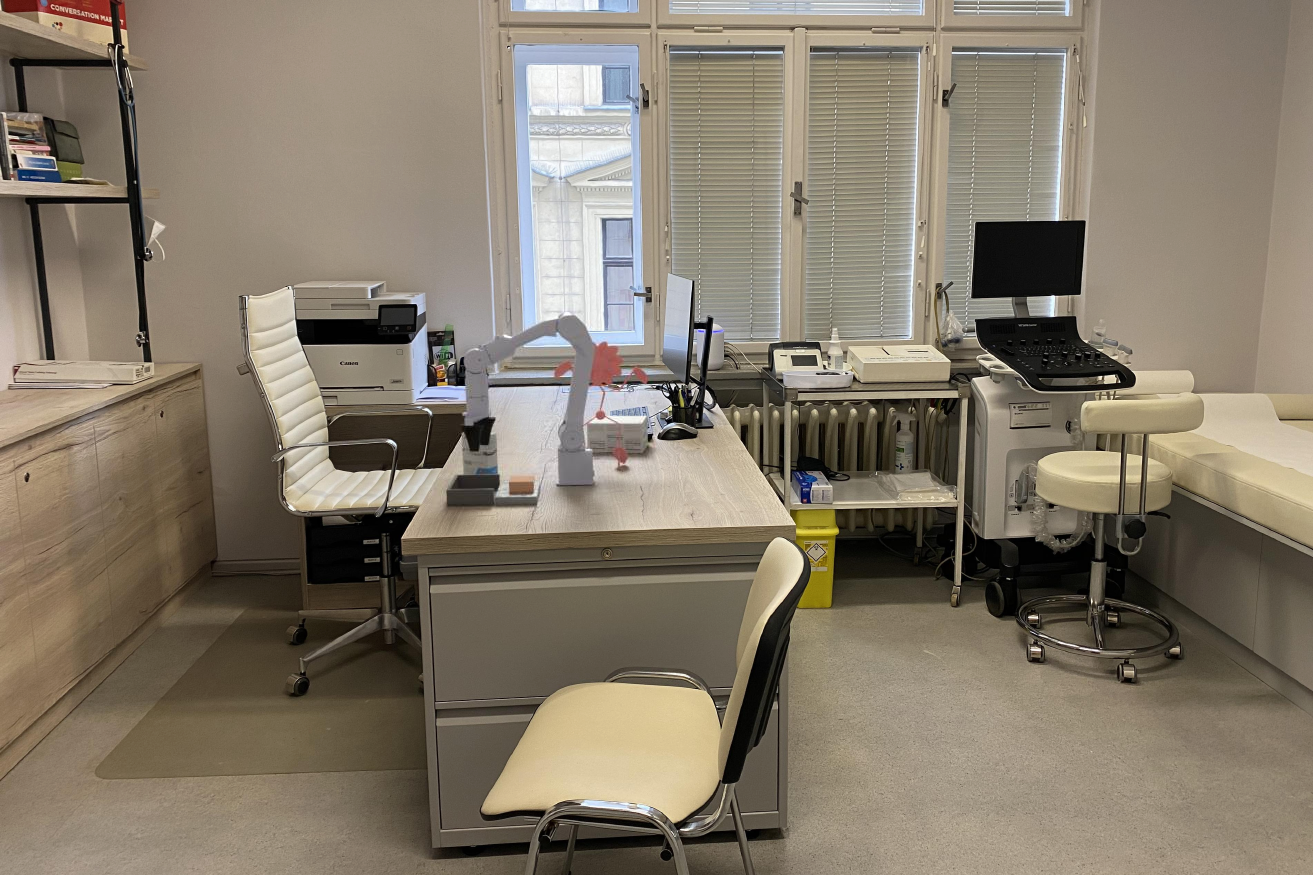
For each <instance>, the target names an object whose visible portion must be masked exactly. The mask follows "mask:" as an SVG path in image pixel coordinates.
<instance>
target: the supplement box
mask: <svg viewBox="0 0 1313 875" xmlns="http://www.w3.org/2000/svg"><path fill="white" fill-rule="evenodd" d="M595 416H596V415H594V416H592V418H594V417H595ZM606 416H607V417H608V418H610V419H612V420H614V421H616V422H618V423H620V425H621V432H620V446H619V447H622V448H623V449H624V450H625V451H626V452H627V454H643V453H644V452H643V451H645V449H646V448H647V447H648V445H649V441H648V440H649V439H648V438H649V437H648V415H606ZM592 418H591V419H592ZM608 418H606V417H605V418H604V419H602V420H598V419H597V418H595V419H593V420H592V421H590V420H589V421H590V422H589V423H588V424H586V435H587V438H586V440H587V444H586V445H587V447H588V448H590V449H593V453H598V452H613V451H614V448H615V447H618V442H619V428H620V425H619V424H617V423H615V422H613V421H611V420H609V419H608ZM587 447H586V448H587Z"/></svg>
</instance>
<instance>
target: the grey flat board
mask: <svg viewBox="0 0 1313 875" xmlns="http://www.w3.org/2000/svg"><path fill="white" fill-rule="evenodd" d="M540 492H541V480H535V488H534V491H531V492H509V481H508V480H507V481H506V480H505V481H503V480H501V481H500V485H499V488H498V491H497V493H496V496H495V504H494V506H526V505H527V506H532V505H535V506H536V505H538V502H539V496H540Z"/></svg>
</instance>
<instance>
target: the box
mask: <svg viewBox="0 0 1313 875" xmlns="http://www.w3.org/2000/svg"><path fill="white" fill-rule="evenodd" d="M500 480H501V476H500V473H498V474H463V473H462V474H454V475H453V478H452V479H451V481H450V483H449V485H448V487H447V488H446V490H445V491H446V493H445V494H446V506H447V507H476V506H477V507H479V506H480V507H482V506H495V496H496V493H497V491H498V488H499V485H500V483H501V481H500Z"/></svg>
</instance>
